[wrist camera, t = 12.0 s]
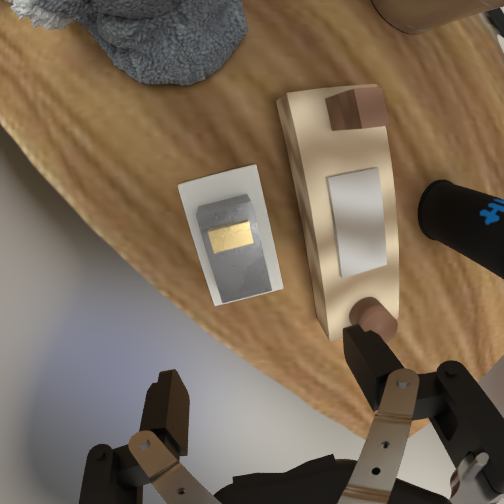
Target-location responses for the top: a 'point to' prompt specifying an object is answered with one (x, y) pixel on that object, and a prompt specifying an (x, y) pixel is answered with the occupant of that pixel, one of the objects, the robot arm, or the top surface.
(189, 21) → the koala plush
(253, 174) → the rubber mat
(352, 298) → the hand plane
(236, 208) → the lever cap
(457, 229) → the aerosol can
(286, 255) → the top surface
